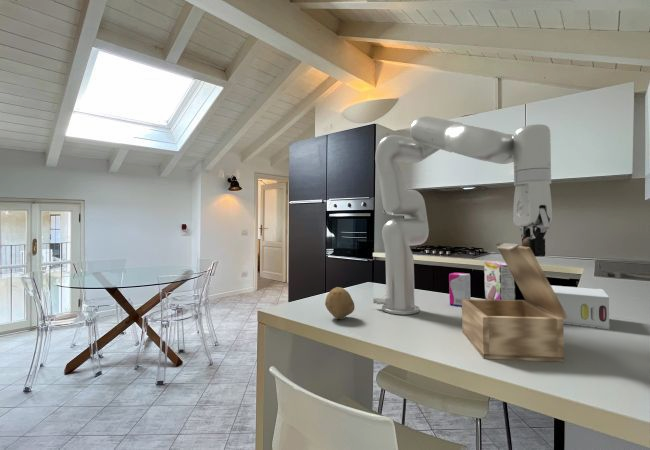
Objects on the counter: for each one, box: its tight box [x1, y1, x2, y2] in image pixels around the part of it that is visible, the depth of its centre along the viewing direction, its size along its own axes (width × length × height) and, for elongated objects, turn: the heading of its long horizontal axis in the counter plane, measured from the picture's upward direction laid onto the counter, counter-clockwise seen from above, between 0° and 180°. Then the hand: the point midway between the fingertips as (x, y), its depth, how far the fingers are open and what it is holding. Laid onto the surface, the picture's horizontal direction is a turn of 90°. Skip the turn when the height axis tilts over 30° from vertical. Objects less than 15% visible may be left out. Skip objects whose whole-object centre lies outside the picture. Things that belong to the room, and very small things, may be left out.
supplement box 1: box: [448, 272, 472, 308], centre depth 120 cm, size 6×6×12 cm
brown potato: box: [324, 286, 355, 319], centre depth 105 cm, size 9×9×10 cm
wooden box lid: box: [495, 237, 568, 319], centre depth 78 cm, size 17×18×8 cm
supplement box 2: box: [538, 284, 610, 330], centre depth 100 cm, size 17×13×9 cm
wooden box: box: [461, 298, 565, 363], centre depth 79 cm, size 16×18×9 cm
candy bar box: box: [483, 260, 516, 300], centre depth 109 cm, size 11×5×16 cm, turn 179°
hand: (533, 254), depth 78 cm, fingers closed on wooden box lid, 3 cm apart
